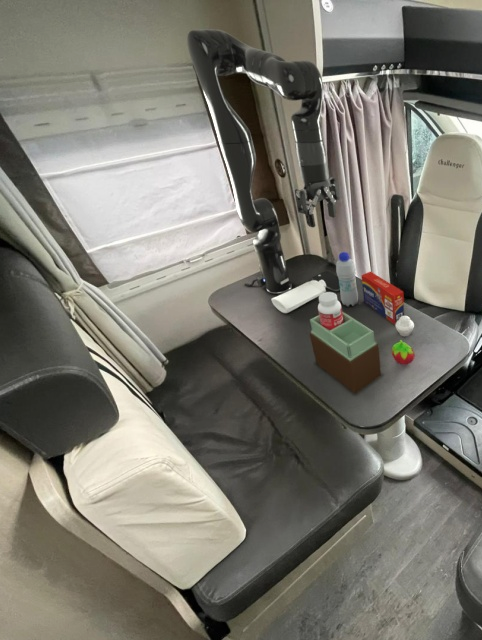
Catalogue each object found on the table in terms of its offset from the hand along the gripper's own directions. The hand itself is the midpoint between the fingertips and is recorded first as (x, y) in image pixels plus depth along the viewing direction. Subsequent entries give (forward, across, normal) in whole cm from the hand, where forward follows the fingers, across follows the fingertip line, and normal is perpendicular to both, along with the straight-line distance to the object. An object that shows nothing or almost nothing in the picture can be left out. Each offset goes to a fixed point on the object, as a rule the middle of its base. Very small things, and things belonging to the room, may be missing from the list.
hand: (322, 221), depth 105 cm
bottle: (+34, -9, -2) cm, 36 cm away
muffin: (+34, -5, +25) cm, 43 cm away
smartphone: (+34, -16, -18) cm, 42 cm away
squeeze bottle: (+34, -1, -18) cm, 39 cm away
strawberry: (+34, +8, +33) cm, 48 cm away
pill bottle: (+22, +18, +16) cm, 32 cm away
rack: (+34, +18, +20) cm, 44 cm away
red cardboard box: (+34, -12, +11) cm, 38 cm away
